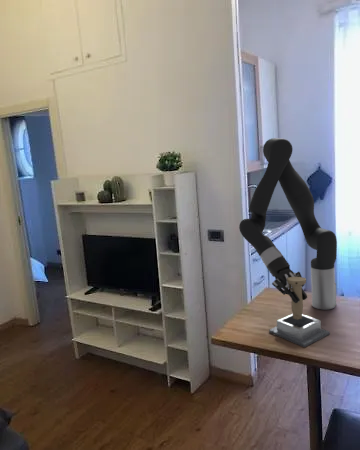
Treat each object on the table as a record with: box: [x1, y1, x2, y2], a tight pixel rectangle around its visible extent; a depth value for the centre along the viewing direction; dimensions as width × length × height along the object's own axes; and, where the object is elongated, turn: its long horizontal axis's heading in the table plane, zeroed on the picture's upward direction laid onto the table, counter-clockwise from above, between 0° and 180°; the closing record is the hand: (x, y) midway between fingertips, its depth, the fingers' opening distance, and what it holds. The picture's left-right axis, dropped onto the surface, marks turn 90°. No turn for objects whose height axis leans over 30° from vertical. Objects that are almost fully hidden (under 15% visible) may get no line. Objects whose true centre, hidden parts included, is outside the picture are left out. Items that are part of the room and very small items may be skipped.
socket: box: [268, 313, 331, 348], centre depth 142 cm, size 14×16×5 cm
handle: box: [287, 277, 307, 320], centre depth 140 cm, size 5×6×15 cm
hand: (301, 300), depth 139 cm, fingers closed on handle, 3 cm apart
